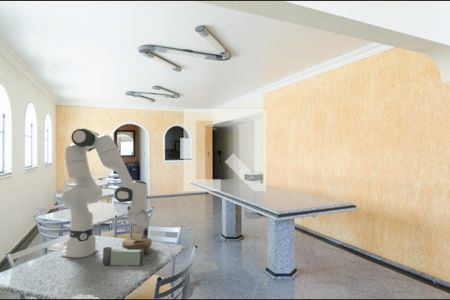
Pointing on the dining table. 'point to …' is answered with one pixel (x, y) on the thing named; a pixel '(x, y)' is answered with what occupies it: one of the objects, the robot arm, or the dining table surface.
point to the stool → (137, 244)
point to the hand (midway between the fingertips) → (137, 232)
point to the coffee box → (145, 232)
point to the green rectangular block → (122, 256)
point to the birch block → (136, 233)
